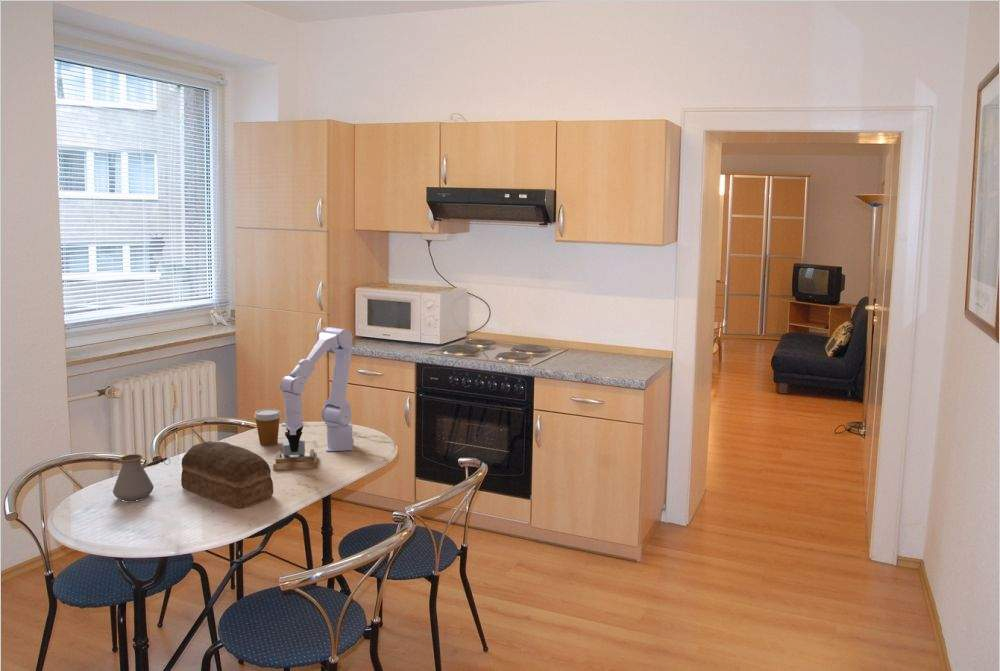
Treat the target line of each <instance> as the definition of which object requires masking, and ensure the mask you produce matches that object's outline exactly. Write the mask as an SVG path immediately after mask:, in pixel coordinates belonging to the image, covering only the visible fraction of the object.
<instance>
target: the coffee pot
mask: <svg viewBox="0 0 1000 671" xmlns="http://www.w3.org/2000/svg"><path fill="white" fill-rule="evenodd" d="M142 459H143V456H142V455H141V454H135V453H134V454H128V455H123V456H121V457H119V461H120V463H121V468H120V471H119V473H118V475H117V476H118V477H117V479H116V481H115V484H114V486H113V489H112V493H113V495H114V497H115V498H117V499H119V500H120V499H121V500H124V501H136V500H140V501H142V500H141V499H143V498H145V497H147V498H148V496H149V495H151V493H153V489H154V483H153V482H152V481H151V479H150V477H149V475H148V474H147V472H146V470H145V468H148V467H149V468H150V467H152V466H156V465H158V464H160V463H163V464H164V465H170V464H171V462H168V463H166V461H167V460H169V461H171V459H170V458H168V457H163V458H162V457H161V458H160V459H156V460H154V461H151V462H149V463H147V464H144V465H143V464H142V463H141V460H142ZM145 499H146V498H145ZM121 500H120V501H121ZM143 500H144V499H143ZM136 502H137V501H136Z"/></svg>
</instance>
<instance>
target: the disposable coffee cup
mask: <svg viewBox="0 0 1000 671" xmlns="http://www.w3.org/2000/svg"><path fill="white" fill-rule="evenodd" d="M281 415H282V414H281V412H280V409H275V408H264V409H259V410H256V411H255V412H254V415H253V418H254V420H255V423H256V424H255V425H256V430H257V434H258V435H257V436H258V441H259V445H260V446H264V447H267V446H274V445H277V444H278V439H279V428H280V418H281Z"/></svg>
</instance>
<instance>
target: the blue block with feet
mask: <svg viewBox="0 0 1000 671" xmlns="http://www.w3.org/2000/svg"><path fill="white" fill-rule="evenodd" d="M305 444H306V442H305V440H300V441H299V447H298V452H291V449H290V445H289V441H288V440H286V441H283V443H282V454H283V456H284V458H287V457H289V455H299V457H304V454H305V453H306V445H305Z"/></svg>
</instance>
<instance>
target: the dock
mask: <svg viewBox="0 0 1000 671" xmlns="http://www.w3.org/2000/svg"><path fill="white" fill-rule="evenodd" d="M317 458H318V452H317V451H315V449H311V448H310V452H309V451H308V452H307V451H305V454H304V457H299V455H289V457H287V458H284V456H283V453H282V451H281V450H277V452H276V453H275V455H274V460H273V462H272V463H273V464H272V468H273V471H281V469H284V470H300V468H301V469H302V470H303V469H317V460H318V459H317ZM298 468H299V469H298Z"/></svg>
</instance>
